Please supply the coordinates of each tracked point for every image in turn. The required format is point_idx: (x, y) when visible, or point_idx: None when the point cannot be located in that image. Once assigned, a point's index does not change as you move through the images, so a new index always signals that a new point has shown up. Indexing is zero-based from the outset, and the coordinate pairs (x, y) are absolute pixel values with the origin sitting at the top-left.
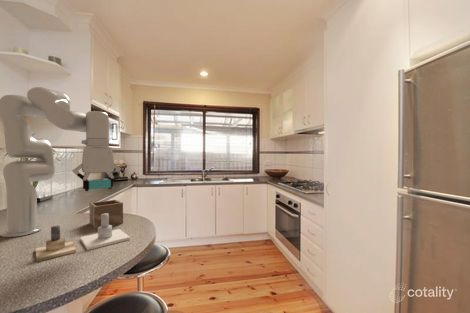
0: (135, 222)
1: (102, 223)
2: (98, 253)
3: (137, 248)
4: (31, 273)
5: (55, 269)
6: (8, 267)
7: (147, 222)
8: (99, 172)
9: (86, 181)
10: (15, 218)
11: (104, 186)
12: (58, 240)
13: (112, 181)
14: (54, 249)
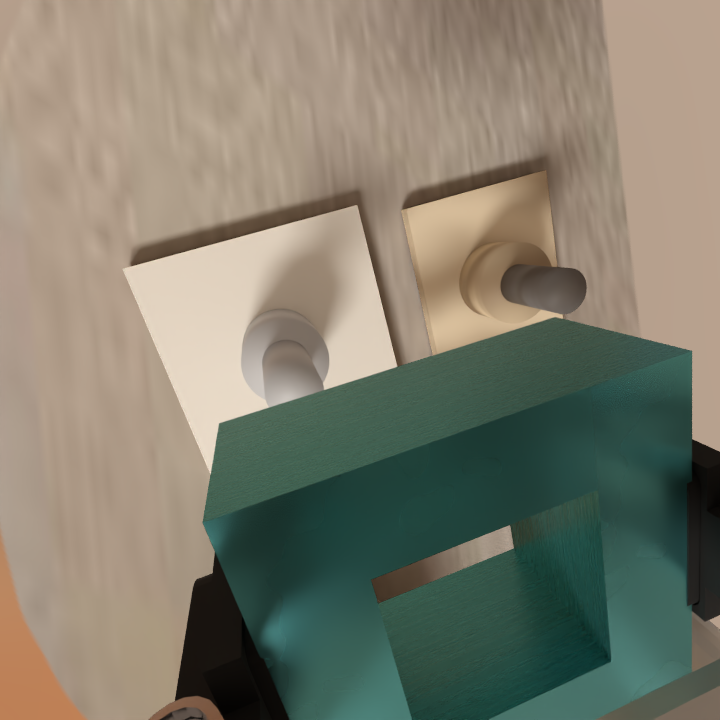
0: (122, 623)
1: (303, 350)
2: (292, 127)
3: (58, 65)
4: (535, 43)
5: (457, 22)
6: (612, 182)
7: (29, 600)
8: (684, 688)
9: (708, 448)
10: (714, 636)
11: (336, 399)
12: (504, 259)
13: (191, 656)
14: (497, 242)
